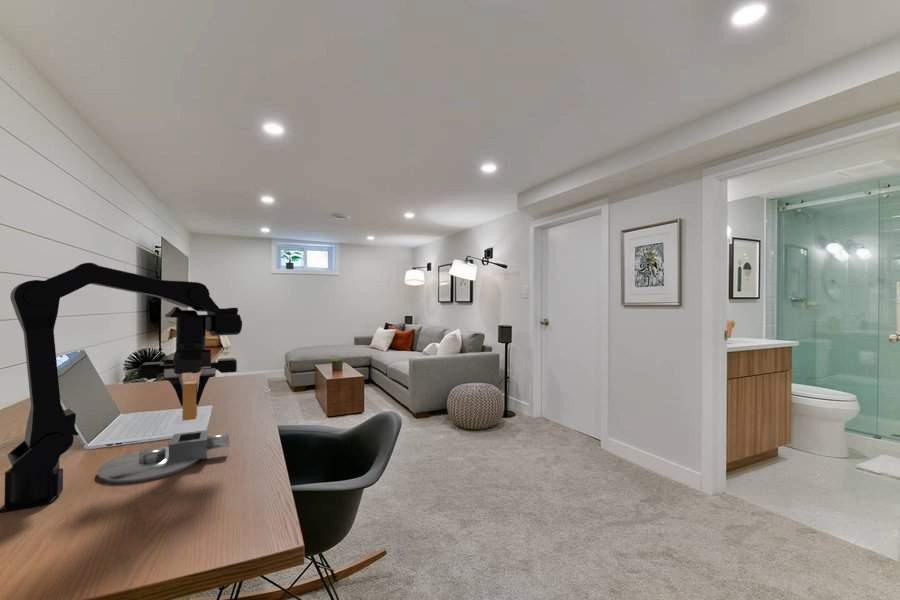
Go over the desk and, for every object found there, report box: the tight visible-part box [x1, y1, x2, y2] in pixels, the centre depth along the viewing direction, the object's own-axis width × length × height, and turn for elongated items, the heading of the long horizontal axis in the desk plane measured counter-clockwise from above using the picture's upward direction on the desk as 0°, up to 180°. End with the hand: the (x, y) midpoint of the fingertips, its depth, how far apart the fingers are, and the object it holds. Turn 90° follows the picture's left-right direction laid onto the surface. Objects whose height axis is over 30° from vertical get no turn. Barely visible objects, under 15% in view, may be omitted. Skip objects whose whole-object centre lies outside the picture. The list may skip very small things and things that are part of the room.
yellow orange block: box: [182, 380, 199, 422], centre depth 92 cm, size 2×4×8 cm, turn 28°
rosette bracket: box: [97, 429, 230, 484], centre depth 90 cm, size 24×18×5 cm
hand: (190, 405), depth 92 cm, fingers closed on yellow orange block, 2 cm apart
